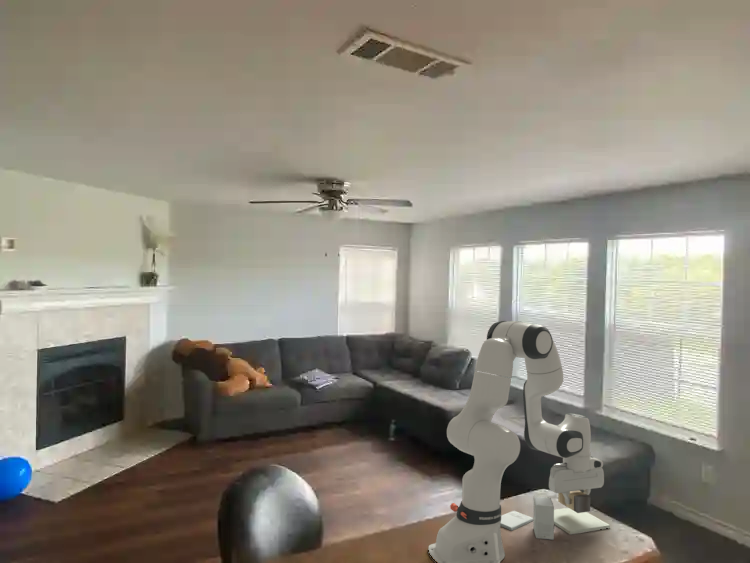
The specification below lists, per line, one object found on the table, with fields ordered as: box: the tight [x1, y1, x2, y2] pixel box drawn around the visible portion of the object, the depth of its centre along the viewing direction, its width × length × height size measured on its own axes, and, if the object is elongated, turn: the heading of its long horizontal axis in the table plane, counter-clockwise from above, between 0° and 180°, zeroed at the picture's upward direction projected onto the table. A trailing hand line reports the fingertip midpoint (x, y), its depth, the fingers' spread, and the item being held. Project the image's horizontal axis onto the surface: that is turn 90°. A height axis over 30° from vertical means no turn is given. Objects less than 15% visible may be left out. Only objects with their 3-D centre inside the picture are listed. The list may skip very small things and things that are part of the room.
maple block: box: [557, 490, 591, 513], centre depth 183 cm, size 5×5×10 cm
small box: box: [532, 495, 555, 541], centre depth 173 cm, size 8×6×10 cm
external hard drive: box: [500, 510, 533, 531], centre depth 182 cm, size 2×8×12 cm
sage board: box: [554, 507, 611, 535], centre depth 183 cm, size 16×16×1 cm
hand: (576, 502), depth 182 cm, fingers closed on maple block, 5 cm apart
